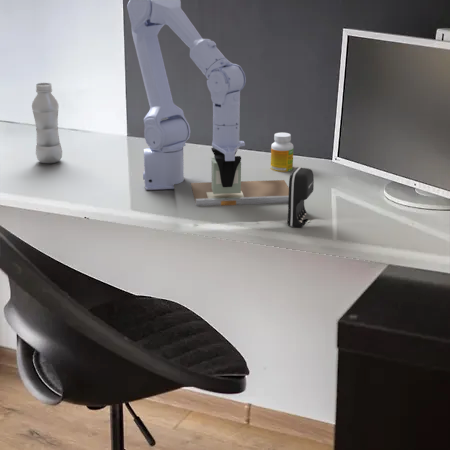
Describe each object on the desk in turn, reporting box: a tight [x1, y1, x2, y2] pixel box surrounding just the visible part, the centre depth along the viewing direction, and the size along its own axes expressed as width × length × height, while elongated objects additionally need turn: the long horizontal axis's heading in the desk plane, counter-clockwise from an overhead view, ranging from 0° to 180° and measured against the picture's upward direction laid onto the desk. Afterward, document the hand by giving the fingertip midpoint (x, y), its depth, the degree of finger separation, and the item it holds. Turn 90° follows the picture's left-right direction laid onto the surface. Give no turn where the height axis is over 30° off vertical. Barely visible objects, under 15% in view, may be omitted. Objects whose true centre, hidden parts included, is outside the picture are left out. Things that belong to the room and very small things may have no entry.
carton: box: [211, 157, 242, 194], centre depth 181 cm, size 4×6×7 cm
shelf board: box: [190, 179, 289, 207], centre depth 186 cm, size 22×15×2 cm
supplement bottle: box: [270, 132, 294, 173], centre depth 201 cm, size 5×5×10 cm
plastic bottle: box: [31, 82, 63, 164], centre depth 206 cm, size 6×7×20 cm
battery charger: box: [287, 166, 315, 228], centre depth 170 cm, size 7×4×11 cm, turn 160°
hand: (225, 183), depth 182 cm, fingers closed on carton, 4 cm apart
